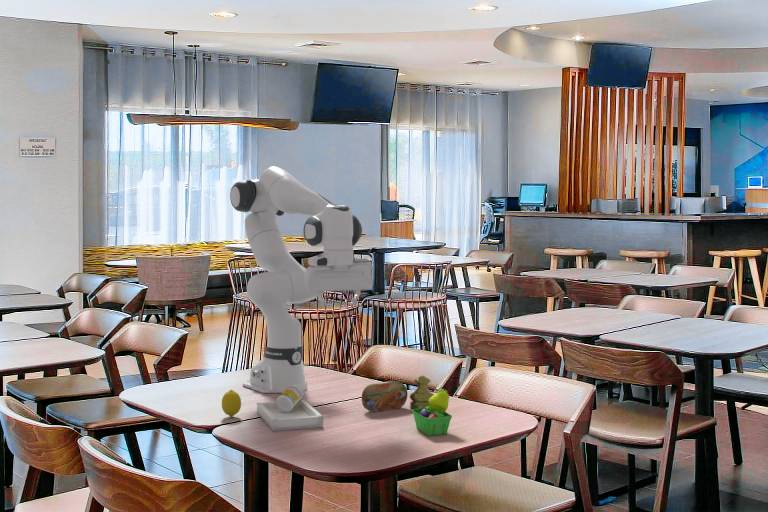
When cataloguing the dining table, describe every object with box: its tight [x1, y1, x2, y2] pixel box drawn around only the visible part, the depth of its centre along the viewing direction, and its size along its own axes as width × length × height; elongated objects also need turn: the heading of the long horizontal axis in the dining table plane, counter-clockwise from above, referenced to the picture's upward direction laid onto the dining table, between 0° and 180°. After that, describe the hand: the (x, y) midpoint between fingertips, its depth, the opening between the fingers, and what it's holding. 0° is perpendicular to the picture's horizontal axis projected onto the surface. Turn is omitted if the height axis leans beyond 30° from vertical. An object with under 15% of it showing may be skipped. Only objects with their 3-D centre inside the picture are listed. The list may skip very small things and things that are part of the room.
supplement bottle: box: [275, 384, 306, 413], centre depth 269 cm, size 5×5×10 cm
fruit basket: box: [411, 388, 453, 437], centre depth 249 cm, size 11×9×11 cm
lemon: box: [221, 389, 242, 418], centre depth 264 cm, size 6×6×8 cm
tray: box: [256, 398, 324, 432], centre depth 261 cm, size 22×14×3 cm, turn 19°
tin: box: [361, 380, 408, 413], centre depth 273 cm, size 15×3×8 cm, turn 122°
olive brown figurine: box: [409, 375, 435, 411], centre depth 274 cm, size 7×8×10 cm
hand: (338, 305), depth 273 cm, fingers open, 8 cm apart
